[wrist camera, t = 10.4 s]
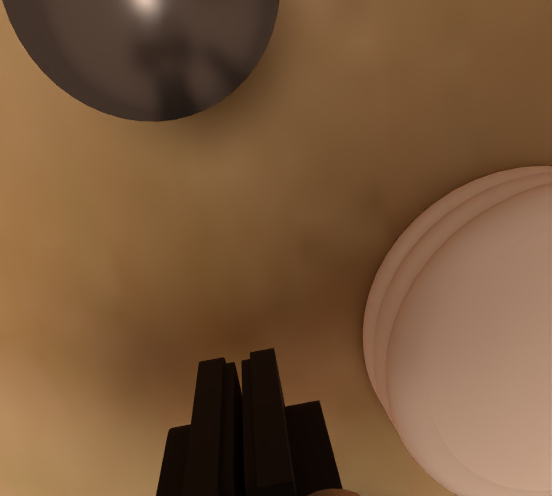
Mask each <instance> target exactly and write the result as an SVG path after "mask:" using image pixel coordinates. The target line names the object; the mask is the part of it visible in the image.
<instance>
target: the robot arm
mask: <svg viewBox="0 0 552 496" xmlns="http://www.w3.org/2000/svg"><path fill="white" fill-rule="evenodd" d="M156 496H360V495H358V494H357V493H354V492H351V491H348V490H345V489H342V485H341V481H340V477H339V473H338V470H337V466H336V462H335V458H334V454H333V451H332V447H331V443H330V439H329V435H328V432H327V428H326V424H325V420H324V416H323V413H322V409H321V405H320V402H319V400H318V401H313V402H307V403H302V404H297V405H291V406H286V407H285V403H284V398H283V393H282V387H281V382H280V377H279V371H278V366H277V361H276V356H275V350H274V348H271V349H266V350H260V351H255V352H250V359H248V360H242V392H241V388H240V383H239V379H238V374H237V369H236V365H235V363H234V362H231V363H226V361H225V358H224V357H223V358H217V359H212V360H206V361H201V362H199V366H198V373H197V381H196V389H195V397H194V404H193V412H192V420H191V424H190V425H185V426H180V427H174V428H171V429H170V430H169V432H168V436H167V441H166V446H165V451H164V457H163V462H162V467H161V472H160V478H159V483H158V488H157V493H156Z"/></svg>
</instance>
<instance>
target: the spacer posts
mask: <svg viewBox="0 0 552 496" xmlns="http://www.w3.org/2000/svg"><path fill="white" fill-rule="evenodd" d="M2 1H3V4H4V6H5V9H6V12H7V15H8V17H9V20H10V22H11V24H12V26H13V28H14V30H15V32H16V34H17V36H18V38H19V40H20V42H21V43H22V45H23V46H24V48H25V49H26V51H27V52H28V54H29V55H30V57H31V58H32V59H33V60H34V62H35V63H36V64H37V65H38V66H39V68H40V69H41V70H42V71H43V72H44V73H45V74H46V75H47V76H48V77H49V78H50V79H51V80H52V81H53V82H54V83H55V84H56V85H58V86H59V87H60V88H61V89H63V90H64V91H65V92H67V93H68V94H69V95H71V96H72V97H74V98H75V99H77V100H79V101H81V102H82V103H84V104H86V105H88V106H90V107H92V108H94V109H96V110H99V111H101V112H103V113H106V114H109V115H113V116H116V117H120V118H124V119H130V120H137V121H166V120H174V119H178V118H182V117H186V116H190V115H193V114H195V113H198V112H200V111H203V110H205V109H207V108H209V107H211V106H213V105H214V104H216V103H218V102H220V101H221V100H223V99H224V98H225V97H226V96H228V95H229V94H230V93H232V92H233V91H234V90H235V89H236V88H237V87H238V86H239V85H240V84H241V83H242V82H243V81H244V80H245V79H246V78H247V77H248V75H249V74H250V73H251V71H252V70H253V69H254V67H255V66H256V65H257V63H258V61H259V60H260V58H261V56H262V54H263V53H264V51H265V49H266V47H267V44H268V42H269V39H270V37H271V34H272V32H273V28H274V24H275V21H276V17H277V12H278V5H279V0H2Z"/></svg>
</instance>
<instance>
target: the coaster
mask: <svg viewBox="0 0 552 496" xmlns="http://www.w3.org/2000/svg"><path fill="white" fill-rule="evenodd" d="M363 353H364V358H365V364H366V369H367V372H368V375H369V378H370V381H371V384H372V387H373V389H374V391H375V393H376V395H377V397H378V399H379V401H380V402H381V404H382V405H383V407H384V409H385V411H386V413H387V415H388V417H389V419H390V421H391V422H392V424H393V425H394V427H395V428H396V430H397V432H398V434H399V436H400V438H401V440H402V442H403V444H404V446H405V447H406V449H407V450H408V452H409V453H410V455H411V456H412V458H413V459H414V460H415V461H416V463H417V464H418V465H419V466H420V467H421V468H422V469H423V470H424V471H425V472H426V473H427V474H428V475H429V476H430V477H432V478H433V479H434V480H435V481H437V482H438V483H439V484H441V485H442V486H443V487H444V488H446V489H447V490H449V491H450V492H452V493H454V494H456V495H458V496H552V166H530V167H519V168H514V169H510V170H505V171H500V172H496V173H493V174H490V175H487V176H484V177H481V178H479V179H476V180H473V181H471V182H469V183H467V184H465V185H463V186H461V187H459V188H457V189H455V190H453V191H451V192H450V193H448V194H447V195H445V196H444V197H442V198H441V199H439V200H438V201H436V202H435V203H433V204H432V205H431V206H430V207H428V208H427V209H426V210H425V211H424V212H422V213H421V214H420V215H419V216H418V217H417V218H415V219H414V221H413V222H412V223H411V224H410V225H409V226H408V227H407V228H406V229H405V230H404V232H403V233H402V234H401V235H400V236H399V237H398V239H397V240H396V242H395V243H394V244H393V246H392V247H391V249H390V250H389V251H388V253H387V254H386V256H385V258H384V260H383V262H382V264H381V266H380V267H379V269H378V271H377V273H376V276H375V278H374V281H373V283H372V286H371V289H370V291H369V295H368V299H367V303H366V308H365V313H364V323H363Z"/></svg>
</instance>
